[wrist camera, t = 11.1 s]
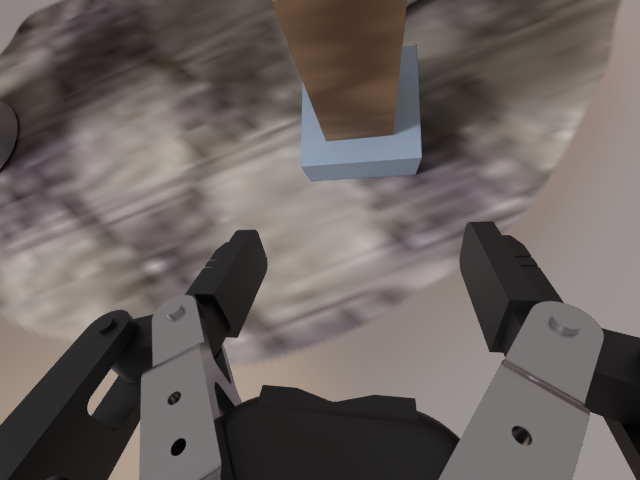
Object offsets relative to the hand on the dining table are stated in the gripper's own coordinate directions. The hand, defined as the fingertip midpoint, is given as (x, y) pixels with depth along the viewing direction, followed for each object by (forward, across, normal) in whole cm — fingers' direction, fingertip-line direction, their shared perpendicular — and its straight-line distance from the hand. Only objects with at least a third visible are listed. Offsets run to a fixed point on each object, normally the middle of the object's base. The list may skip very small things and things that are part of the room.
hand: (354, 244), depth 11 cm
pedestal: (+14, 0, 0) cm, 14 cm away
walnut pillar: (+12, 0, -2) cm, 12 cm away
